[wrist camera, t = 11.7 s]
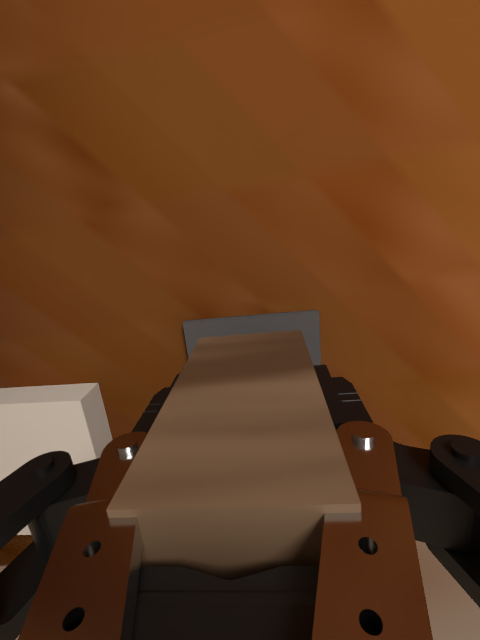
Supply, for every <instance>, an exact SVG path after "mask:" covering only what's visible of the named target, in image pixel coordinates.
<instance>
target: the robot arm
mask: <svg viewBox="0 0 480 640" xmlns="http://www.w3.org/2000/svg"><path fill="white" fill-rule="evenodd" d="M313 366H314V369H315V372H316V375H317V378H318V381H319V383H320V386H321V389H322V392H323V395H324V398H325V401H326V404H327V407H328V409H329V412H330V415H331V418H332V421H333V424H334V427H335V430H336V433H337V435H338V438H339V441H340V444H341V447H342V450H343V453H344V456H345V459H346V461H347V464H348V467H349V470H350V473H351V476H352V479H353V482H354V485H355V488H356V490H357V493H358V496H359V499H360V502H361V512H360V513H325V516H324V526H323V536H322V545H321V555H320V565H319V566H281V567H277V568H274V569H270V570H267V571H263V572H260V573H256V574H253V575H249V576H246V577H242V578H239V579H235V580H225V579H222V578H218V577H215V576H212V575H208V574H205V573H202V572H198V571H195V570H192V569H188V568H185V567H140V562H141V556H142V552H143V550H144V549H145V548H144V544H143V540H142V536H141V532H140V528H139V524H138V520H137V517H128V518H108V515H107V511H106V509H107V507H108V506H109V504H110V502H111V500H112V498H113V496H114V495H115V493H116V491H117V489H118V487H119V485H120V483H121V482H122V480H123V478H124V476H125V474H126V472H127V471H128V469H129V467H130V465H131V463H132V461H133V460H134V458H135V456H136V454H137V452H138V450H139V449H140V447H141V445H142V443H143V441H144V439H145V438H146V436H147V434H148V432H149V430H150V428H151V426H152V425H153V423H154V421H155V419H156V417H157V415H158V414H159V412H160V410H161V408H162V406H163V404H164V403H165V401H166V399H167V397H168V395H169V393H170V392H171V390H172V388H173V386H174V384H175V382H176V381H177V379H178V377H179V375H180V374H178V375H177V376H176V378H175V379H174V381H173V383H172V385H171V387H168V388H163V389H162V390H161V391H159V392H158V393H157V394H155V395H154V397H153V398H152V400H151V402H150V403H149V405H148V406H147V408H146V410H145V412H144V413H143V414H142V416H141V418H140V419H139V421H138V422H137V424H136V426H135V427H134V429H133V430H132V432H130V433H126V434H124V435H121V436H119V437H117V438H115V439H114V440H112V441H111V442H110V443H108V444H107V445H106V446H105V448H104V449H103V451H102V453H101V457H100V458H97V459H93V460H90V461H86V462H82V463H78V464H74V465H73V462H72V459H71V456H70V454H69V453H68V452H65V451H52V452H48V453H45V454H42V455H39V456H37V457H35V458H33V459H31V460H30V461H28V462H27V463H25V464H24V465H22V466H21V467H19V468H18V469H17V470H15V471H14V472H12V473H11V474H10V475H8V476H7V477H5V478H4V479H3V480H1V481H0V549H1V548H2V547H3V546H4V545H6V544H7V543H8V542H9V541H10V540H11V539H12V538H13V537H15V536H16V535H17V534H18V533H19V532H20V531H21V530H22V529H23V528H25V527H26V526H27V525H28V527H29V530H30V532H31V535H32V538H33V540H34V541H33V542H32V543H31V544H30V545H29V546H28V547H27V548H26V549H25V550H24V551H23V552H21V553H20V554H19V555H18V556H17V557H16V558H15V559H14V560H13V561H12V562H11V563H10V564H9V565H8V566H7V567H6V568H5V569H4V570H3V571H2V572H1V573H0V640H15V639H16V638H17V637H18V636H19V635H20V636H19V638H18V640H433V638H432V633H431V626H430V621H429V615H428V609H427V604H426V598H425V593H424V587H423V582H422V576H421V570H420V565H419V559H418V554H417V549H416V543H415V540H417V541H421V542H425V543H426V545H427V546H428V548H429V550H430V551H431V552H432V553H433V555H434V556H435V557H436V558H437V559H438V560H439V562H440V563H441V564H442V565H443V566H444V567H445V568H446V570H448V572H449V573H450V574H451V575H452V576H453V578H454V579H455V580H456V581H457V582H458V583H459V584H460V586H461V587H462V588H463V589H464V590H465V591H466V592H467V594H468V595H469V596H470V597H471V598H472V599H473V600H474V602H475V603H476V604H477V605H478V606H479V607H480V441H479V440H476V439H473V438H470V437H466V436H461V435H442V436H439V437H436V438H435V439H434V440H433V441H432V442H431V445H430V450H428V449H422V448H416V447H410V446H405V445H402V444H398V443H396V442H393V439H392V436H391V435H390V433H389V432H388V431H387V430H385V429H384V428H382V427H381V426H379V425H377V424H374V423H373V421H372V420H371V418H370V416H369V414H368V412H367V410H366V409H365V407H364V405H363V403H362V401H361V400H360V397H359V396H358V394H357V392H356V390H355V388H354V386H353V385H352V383H350V382H349V381H347V380H346V379H344V378H343V377H333V378H331V376H330V373H329V371H328V369H327V366H326V365H313Z"/></svg>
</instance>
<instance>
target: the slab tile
mask: <svg viewBox="0 0 480 640" xmlns="http://www.w3.org/2000/svg"><path fill="white" fill-rule="evenodd" d="M111 441H112V436H111V432H110V428H109V424H108V420H107V416H106V412H105V408H104V404H103V400H102V396H101V392H100V388H99V384H98V383H86V384H69V385H51V386H34V387H16V388H0V481H1V480H3V479H4V478H5V477H7V476H8V475H10V474H11V473H12V472H14V471H15V470H17V469H18V468H19V467H21V466H22V465H24V464H25V463H27V462H28V461H30V460H31V459H33V458H35V457H37V456H39V455H42V454H45V453H48V452H52V451H65V452H68V453H69V454H70V456H71V459H72V462H73V465H74V464H78V463H82V462H86V461H90V460H93V459H97V458H100V457H101V453H102V451H103V449H104V448H105V446H106V445H107V444H108V443H110V442H111ZM17 535H31V532H30V530H29V527H28V525H27V526H26V527H25V528H23V529H22V530H21V531H20V532H19V533H18V534H17Z"/></svg>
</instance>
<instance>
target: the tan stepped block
mask: <svg viewBox="0 0 480 640" xmlns="http://www.w3.org/2000/svg"><path fill="white" fill-rule="evenodd" d="M106 511H107V515H108V518H128V517H137V520H138V524H139V528H140V532H141V536H142V540H143V544H144V548H145V549H144V550H143V552H142V556H141V562H140V567H185V568H188V569H192V570H195V571H198V572H202V573H205V574H208V575H212V576H215V577H218V578H222V579H225V580H235V579H239V578H242V577H246V576H249V575H253V574H256V573H260V572H263V571H267V570H270V569H274V568H277V567H281V566H319V565H320V555H321V545H322V536H323V526H324V516H325V513H360V512H361V502H360V499H359V496H358V493H357V490H356V488H355V485H354V482H353V479H352V476H351V473H350V470H349V467H348V464H347V461H346V459H345V456H344V453H343V450H342V447H341V444H340V441H339V438H338V435H337V433H336V430H335V427H334V424H333V421H332V418H331V415H330V412H329V409H328V407H327V404H326V401H325V398H324V395H323V392H322V389H321V386H320V383H319V381H318V378H317V375H316V372H315V369H314V366H313V363H312V360H311V357H310V354H309V352H308V349H307V346H306V343H305V340H304V337H303V334H302V331H301V330H293V331H280V332H267V333H254V334H241V335H228V336H215V337H202V338H199V340H198V342H197V344H196V346H195V347H194V349H193V351H192V353H191V355H190V357H189V358H188V360H187V362H186V364H185V366H184V368H183V369H182V371H181V373H180V375H179V377H178V379H177V381H176V382H175V384H174V386H173V388H172V390H171V392H170V393H169V395H168V397H167V399H166V401H165V403H164V404H163V406H162V408H161V410H160V412H159V414H158V415H157V417H156V419H155V421H154V423H153V425H152V426H151V428H150V430H149V432H148V434H147V436H146V438H145V439H144V441H143V443H142V445H141V447H140V449H139V450H138V452H137V454H136V456H135V458H134V460H133V461H132V463H131V465H130V467H129V469H128V471H127V472H126V474H125V476H124V478H123V480H122V482H121V483H120V485H119V487H118V489H117V491H116V493H115V495H114V496H113V498H112V500H111V502H110V504H109V506H108V507H107V509H106Z"/></svg>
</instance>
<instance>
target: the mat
mask: <svg viewBox="0 0 480 640" xmlns="http://www.w3.org/2000/svg"><path fill="white" fill-rule="evenodd" d="M183 329H184V335H185V341H186V347H187V353H188V358H189V357H190V355H191V353H192V351H193V349H194V347H195V346H196V344H197V342H198V340H199V338H202V337H215V336H228V335H241V334H254V333H267V332H280V331H293V330H301V331H302V334H303V337H304V340H305V343H306V346H307V349H308V352H309V354H310V357H311V360H312V363H313V365H321V352H320V324H319V311H318V310H310V311H298V312H286V313H273V314H261V315H249V316H237V317H225V318H212V319H200V320H188V321H184V322H183Z"/></svg>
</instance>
